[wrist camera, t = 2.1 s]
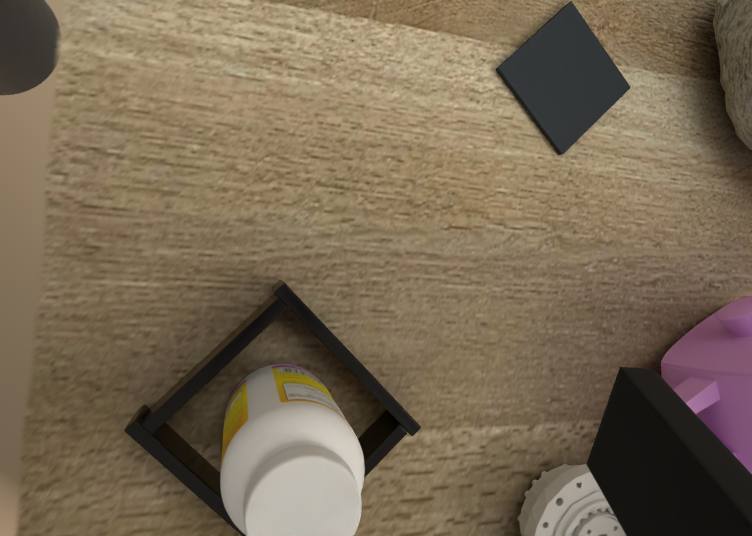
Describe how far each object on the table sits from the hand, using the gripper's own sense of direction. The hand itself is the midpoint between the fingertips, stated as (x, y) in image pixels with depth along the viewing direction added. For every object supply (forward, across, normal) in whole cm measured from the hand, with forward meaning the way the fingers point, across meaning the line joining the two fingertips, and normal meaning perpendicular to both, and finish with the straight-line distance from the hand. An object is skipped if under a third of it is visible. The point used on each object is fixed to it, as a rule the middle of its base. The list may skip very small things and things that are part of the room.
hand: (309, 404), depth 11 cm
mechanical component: (+14, +16, -26) cm, 33 cm away
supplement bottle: (+18, -2, -15) cm, 24 cm away
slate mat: (+30, +16, +6) cm, 34 cm away
